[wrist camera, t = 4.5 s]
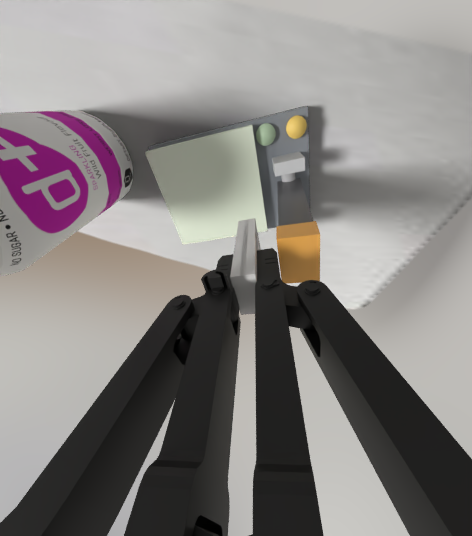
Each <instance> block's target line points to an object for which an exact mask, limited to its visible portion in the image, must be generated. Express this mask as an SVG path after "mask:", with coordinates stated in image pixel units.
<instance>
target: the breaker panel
mask: <svg viewBox="0 0 472 536" xmlns="http://www.w3.org/2000/svg"><path fill="white" fill-rule="evenodd" d="M148 149H149V151H147V152H145V154H146V157H147V159H148V162H149V164H150V166H151V169H152V171H153V174H154V176H155V179H156V181H157V183H158V186H159V188H160V191H161V193H162V195H163V198H164V200H165V203H166V205H167V207H168V210H169V212H170V215H171V217H172V219H173V222H174V224H175V227H176V229H177V232H178V234H179V236H180V239H181V241H182V244H183V245H185V244H191V243H197V242H203V241H209V240H216V239H222V238H228V237H234V236H236V235H237V228H238V221H241V220H247V219H253V218H255V221H256V226H257V232H264V231H268V229H269V228H275V227H277V226H278V189H277V182H278V181H282V178H281V175H286V174H291V173H295V178H300V179H301V182H302V186H303V189H304V192H305V195H306V199H307V202H308V205H309V208H310V186H309V136H308V106H303V107H299V108H295V109H291V110H287V111H284V112H280V113H276V114H272V115H268V116H264V117H260V118H256V119H252V120H249V121H245V122H241V123H237V124H233V125H229V126H225V127H221V128H217V129H214V130H210V131H206V132H202V133H198V134H194V135H190V136H186V137H182V138H179V139H175V140H171V141H167V142H163V143H159V144H155V145H152V146H150V147H148Z"/></svg>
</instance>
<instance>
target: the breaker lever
mask: <svg viewBox="0 0 472 536" xmlns="http://www.w3.org/2000/svg"><path fill="white" fill-rule="evenodd" d="M281 178H282V181H278V182H277V189H278V226H277V246H278V254H279V262H280V270H281V278H282V281H283V282H284V283H299V282H304V281H308V280H317V281H320V233H319V229H318V226H317V223H316V221H313V218H312V215H311V212H310V208H309V205H308V202H307V199H306V195H305V192H304V189H303V186H302V182H301V179H300V178H295V173H291V174H286V175H281Z"/></svg>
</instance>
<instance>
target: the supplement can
mask: <svg viewBox="0 0 472 536" xmlns="http://www.w3.org/2000/svg"><path fill="white" fill-rule="evenodd" d="M132 181H133V166H132V161H131V159H130V156H129V154H128V151H127V149H126V146H125V145H124V144H123V142H122V141H121V140H120V138H119V137H118V135H117V134H116V133H115V131H114V130H113V129H111V128H110V127H109V126H108V125H106V124H105V123H104V122H103V121H101V120H100V119H99V118H97V117H95V116H92V115H90V114H88V113H85V112H83V111H67V110H65V111H40V112H15V113H0V276H4V275H9V274H12V273H16V272H19V271H22V270H24V269H26V268H27V267H29V266H30V265H31V264H33V263H34V262H35V261H37V260H38V259H40V258H41V257H42V256H44V255H45V254H46V253H48V252H49V251H50V250H52V249H53V248H54V247H56V246H57V245H58V244H60V243H62V242H63V241H64V240H65V239H67V238H68V237H70V236H71V235H72V234H74V233H75V232H77V231H78V230H79V229H81V228H82V227H83V226H85V225H86V224H88V223H89V222H90V221H92V220H93V219H94V218H96V217H97V216H99V215H100V214H101V213H103V212H104V211H105V210H107V209H108V208H110V207H111V206H112V205H114V204H115V203H116V202H118V201H119V200H121V199H122V198H123V197H124V196H125V195H126V194H127V193H128V191H129V190H130V188H131V185H132Z"/></svg>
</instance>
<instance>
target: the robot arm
mask: <svg viewBox="0 0 472 536" xmlns="http://www.w3.org/2000/svg"><path fill="white" fill-rule="evenodd" d="M201 280H202V283H203V285H204V288H205V290H206V293H205V295H203V296H201V297H198V298H195V299H193V300H191V298H190V297H189V296H187V295H180V296H177V297H175V298H173V299H172V300H171V301H170V302H169V303H168V304H167V305H166V307H165V308H164V309H163V311H162V312H161V313H160V315H159V316H158V318H157V319H156V320H155V321H154V323H153V324H152V326H151V327H150V328H149V329H148V331H147V332H146V334H145V335H144V336H143V337H142V339H141V340H140V342H139V343H138V344H137V346H136V347H135V348H134V350H133V351H132V352H131V354H130V355H129V356H128V358H127V359H126V360H125V362H124V363H123V364H122V366H121V367H120V368H119V370H118V371H117V372H116V374H115V375H114V377H113V378H112V379H111V380H110V382H109V383H108V385H107V386H106V387H105V389H104V390H103V391H102V393H101V394H100V395H99V397H98V398H97V399H96V401H95V402H94V403H93V405H92V406H91V407H90V409H89V410H88V411H87V413H86V414H85V415H84V417H83V418H82V419H81V421H80V422H79V423H78V425H77V426H76V428H75V429H74V430H73V432H72V433H71V434H70V436H69V437H68V438H67V440H66V441H65V442H64V444H63V445H62V446H61V448H60V449H59V450H58V452H57V453H56V454H55V456H54V457H53V458H52V460H51V461H50V462H49V464H48V465H47V466H46V468H45V469H44V471H43V472H42V473H41V475H40V476H39V477H38V479H37V480H36V481H35V483H34V484H33V485H32V487H31V488H30V489H29V491H28V492H27V493H26V495H25V496H24V497H23V499H22V500H21V502H20V503H19V504H18V506H17V507H16V508H15V509H14V510H13V511H12V512H11V513H10V514H9V515H8V516H7V517H6V518H5V519H4V520H3V521H2V522H1V523H0V536H107V534H108V533H109V531H110V529H111V527H112V525H113V523H114V521H115V519H116V517H117V516H118V514H119V512H120V510H121V507H122V506H123V503H124V501H125V499H126V497H127V495H128V493H129V491H130V489H131V487H132V485H133V483H134V481H135V479H136V477H137V475H138V473H139V471H140V469H141V467H142V465H143V463H144V461H145V459H146V457H147V455H148V453H149V451H150V449H151V447H152V445H153V442H154V441H155V439H156V437H157V435H158V432H159V431H160V428H161V426H162V424H163V422H164V420H165V418H166V416H167V414H168V412H169V410H170V408H171V406H172V404H173V402H174V400H175V402H174V406H173V409H172V413H171V417H170V420H169V424H168V427H167V431H166V434H165V438H164V441H163V445H162V448H161V452H160V454H159V456H158V458H157V460H155V461H154V462H153V463H152V464H151V465H150V466H149V467H148V468H147V470H146V472H145V474H144V476H143V478H142V481H141V483H140V486H139V489H138V492H137V495H136V499H135V502H134V505H133V508H132V511H131V515H130V518H129V521H128V524H127V527H126V531H125V534H124V536H228V522H229V492H228V469H229V457H230V456H229V455H230V444H231V433H232V421H233V408H234V396H235V384H236V371H237V359H238V347H239V335H240V323H241V322H240V318H239V310H240V313H241V315H243V314H255V327H256V328H255V334H256V336H255V337H256V338H255V341H256V445H257V446H256V448H257V449H256V450H257V453H256V456H257V457H256V466H255V470H254V478H253V534H252V535H249V536H323V530H322V524H321V518H320V512H319V506H318V499H317V493H316V488H315V482H314V476H313V471H312V466H311V462H310V455H309V449H308V443H307V437H306V431H305V424H304V418H303V412H302V405H301V399H300V393H299V387H298V381H297V375H296V368H295V362H294V356H293V350H292V343H291V337H290V331H289V326H291V327H296V328H300V330H301V332H302V334H303V336H304V338H305V339H306V341H307V343H308V345H309V347H310V349H311V351H312V353H313V355H314V357H315V358H316V360H317V362H318V364H319V366H320V368H321V369H322V371H323V373H324V375H325V377H326V379H327V381H328V383H329V385H330V387H331V388H332V390H333V392H334V394H335V396H336V398H337V400H338V402H339V403H340V405H341V407H342V409H343V411H344V413H345V415H346V416H347V418H348V420H349V422H350V424H351V426H352V428H353V430H354V431H355V433H356V435H357V437H358V439H359V441H360V443H361V445H362V447H363V448H364V450H365V452H366V454H367V456H368V458H369V460H370V462H371V463H372V465H373V467H374V469H375V471H376V473H377V475H378V477H379V478H380V480H381V482H382V484H383V486H384V488H385V490H386V492H387V493H388V495H389V497H390V499H391V501H392V503H393V505H394V507H395V508H396V510H397V512H398V514H399V516H400V518H401V520H402V521H403V523H404V525H405V527H406V529H407V531H408V533H409V535H410V536H472V459H471V458H470V457H469V455H468V454H467V453H466V452H465V451H464V449H462V447H461V446H460V445H459V444H458V442H457V441H456V440H455V439H454V438H453V436H452V435H451V434H450V433H449V432H448V430H447V429H446V428H445V427H444V426H443V424H442V423H441V422H440V421H439V420H438V419H437V417H436V416H435V415H434V414H433V412H432V411H431V410H430V409H429V408H428V407H427V405H426V404H425V403H424V402H423V401H422V399H421V398H420V397H419V396H418V395H417V393H416V392H415V391H414V390H413V389H412V387H411V386H410V385H409V384H408V383H407V381H406V380H405V379H404V378H403V377H402V376H401V374H400V373H399V372H398V371H397V370H396V368H395V367H394V366H393V365H392V364H391V362H390V361H389V360H388V359H387V358H386V357H385V355H384V354H383V353H382V352H381V351H380V349H379V348H378V347H377V346H376V344H375V343H374V342H373V341H372V340H371V339H370V337H369V336H368V335H367V334H366V333H365V331H364V330H363V329H362V328H361V327H360V325H359V324H358V323H357V322H356V321H355V319H354V318H353V317H352V316H351V315H350V313H348V311H347V310H346V309H345V307H344V306H343V305H342V304H341V303H340V302H339V300H338V299H337V298H336V297H335V296H334V294H333V293H332V292H331V291H330V290H329V288H328V287H327V286H326V285H325V284H324V283H322V282H320V281H317V280H308V281H304V282H302V283H301V284H299V285H298V287H296V286H290V285H287V284H285V283H284V282H283V281H282V280H281V278H280V272H279V265H278V258H277V252H276V251H275V250H274V249H273V248H271V249H264V250H260V244H259V238H258V232H257V226H256V221H255V218H253V219H247V220H241V221H238V228H237V235H236V241H235V248H234V254H233V255H226V256H222V257H221V258H220V259H219V261H218V264H217V268H216V270H213V271H210V272H208V273H206V274H205V275H204V276H203V277H202V279H201ZM175 398H176V399H175Z"/></svg>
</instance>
